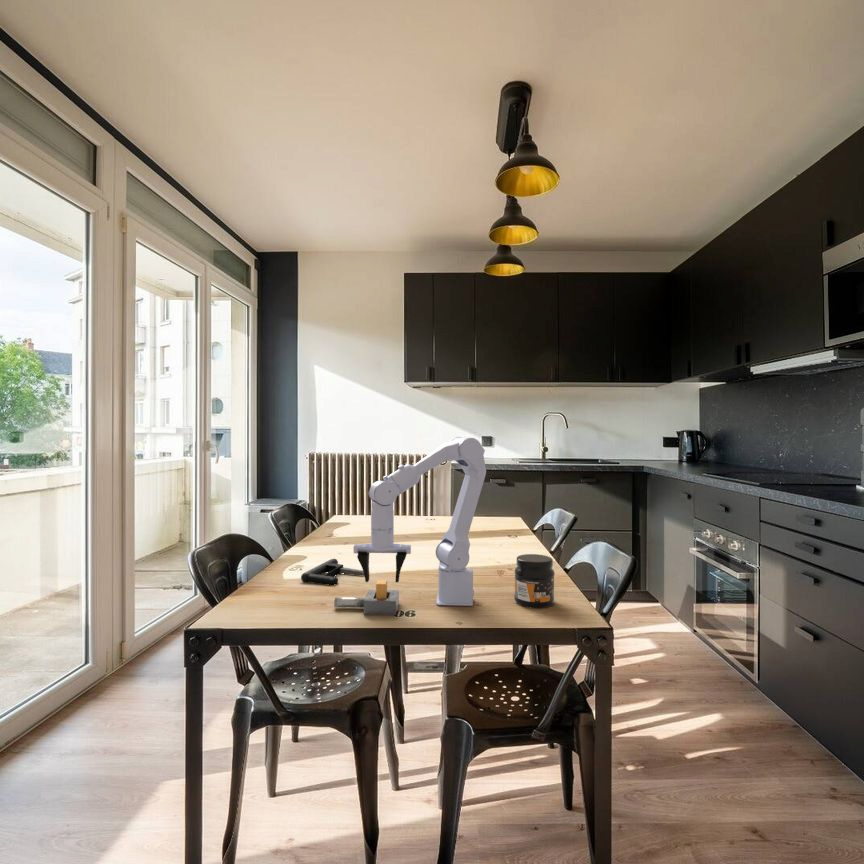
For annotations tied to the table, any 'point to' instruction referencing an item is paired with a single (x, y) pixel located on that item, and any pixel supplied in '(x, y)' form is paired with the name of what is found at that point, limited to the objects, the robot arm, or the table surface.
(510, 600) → the table surface
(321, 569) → the door handle
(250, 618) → the table surface
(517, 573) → the supplement container
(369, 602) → the grey peg hole fixture
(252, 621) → the table surface
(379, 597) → the tall orange cuboid
